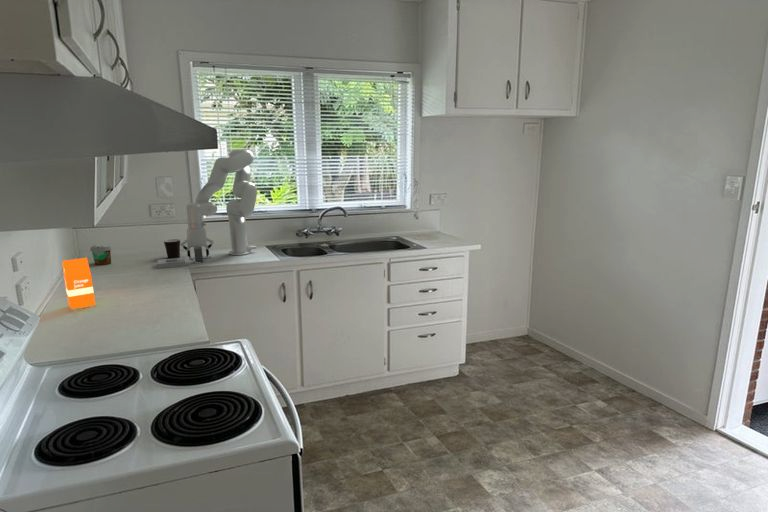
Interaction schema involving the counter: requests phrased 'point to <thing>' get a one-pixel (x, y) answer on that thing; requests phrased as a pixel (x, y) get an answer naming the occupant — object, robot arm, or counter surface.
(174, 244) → the coffee mug
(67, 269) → the orange juice
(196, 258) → the charger
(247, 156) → the robot arm
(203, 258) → the phone
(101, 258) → the food container
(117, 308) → the counter surface
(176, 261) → the outlet plate
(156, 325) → the counter surface
